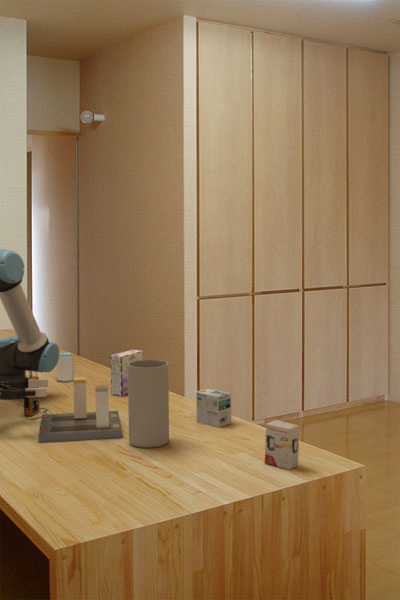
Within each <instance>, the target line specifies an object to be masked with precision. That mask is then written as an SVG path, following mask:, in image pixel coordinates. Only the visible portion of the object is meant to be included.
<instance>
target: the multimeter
mask: <svg viewBox="0 0 400 600" xmlns="http://www.w3.org/2000/svg"><path fill="white" fill-rule="evenodd" d="M31 359H34V358H31ZM31 359H30V363H31ZM34 360H35V359H34ZM25 362H28V361H25ZM25 362H24V363H25ZM28 363H29V362H28ZM35 363H36V360H35ZM29 366H30V364H29ZM23 367H24V364H23ZM28 372H29V376H28V377H27V378H28V380H38V379H40V378H39V376H38V375H37V373H38V372H35V376H34V375H33V371H32V367H31V371H28ZM23 389H24V390H25V389H29V388H28V387H26V388H23ZM40 409H41V410H44V411H42V413H43V414H44V415H47V414H49V413H48V412H47V411H48V409H46V407H45V408H44V407H40V397H26V396H25V400H23V414H24V416H25V418H26V419H27V420H31V421H32V420H37V419H40V418H41V419H42V415H41V416H36V417H34V418H28V417H33V416H34V415H35V414H36V413H39V412H40Z"/></svg>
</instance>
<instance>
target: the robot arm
mask: <svg viewBox="0 0 400 600" xmlns="http://www.w3.org/2000/svg"><path fill="white" fill-rule="evenodd" d="M24 269H25V263H24V260H23V259H22V257H21V256H20V254H19V253H17V252H16V251H14V250H11V249H5V248H4V249H3V248H1V249H0V301H1V303H2V305H3V306H2V307H3V308H4V309H5V312H6V314H7V316H8V319H9V320H10V324H11V325H12V328H13V330H14V332H15V334H16V335H15V336H9V337H3V338H0V400H13V399H15V400H22V401H24V400H25V396H26V397H39V398H42V397H47V388H49V380H48V378H46V379H40V378H39V379H38V380H28V378H29V377H27V374H26V373H27V372H29V371H31V367H32V372H35V373H41V374H42V373H51V372H52V371H53V370H54V369H55V368H57V363H58V359H59V353H60V347H59V346H58V344H57V343H55V342H53V341H51V342H50V340H49V338H48V335H46V333H45V332H42V331H41V329H40V327H39V325H38V322H37V319H36V317H35V314H34V313H33V311H32V308H31V305H30V304H29V301H28V299H27V297H26V294H25V292H24V289H23V287H22V283H23V278H24V274H25V270H24ZM31 358H34V359H35V360H36V363H35V360H34V359H31ZM30 359H31V363H30ZM25 361H28V362H29V363H28V362H25ZM24 362H25V363H24ZM23 364H24V367H23ZM29 364H30V366H29ZM26 387H28V388H29V389H25V390H24V389H23V388H26Z"/></svg>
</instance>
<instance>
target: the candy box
mask: <svg viewBox="0 0 400 600" xmlns="http://www.w3.org/2000/svg"><path fill="white" fill-rule="evenodd" d="M138 360H144V350H141V349H130V350H126V351H121V352H118V353H113V354H110V384H111V386H110V391H111V393H110V394H111V395H112V396H116V397H121V398H122V397H125V396H128V363H130V362H133V361H138Z"/></svg>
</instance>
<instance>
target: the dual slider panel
mask: <svg viewBox="0 0 400 600" xmlns="http://www.w3.org/2000/svg"><path fill="white" fill-rule="evenodd" d="M109 404H110V403H109V385H108V384H107V385H106V384H102V385H95V411H91V412H89V411H86V417H87V418H78V419H74V412H69V413H68V412H67V413H51V414H50V413H48V414H47V415H46V414H42V415H41V416H42V418H41V421H40V425H39V431H38V443H39V444H40V443H53V442H54V443H55V442H57V443H58V442H71V441H73V442H74V441H88V440H103V439H104V440H107V439H110V440H111V439H122V438H123V427H122V425H121V417H120V415H119V411H118V410H111V411H110V407H109Z"/></svg>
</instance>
